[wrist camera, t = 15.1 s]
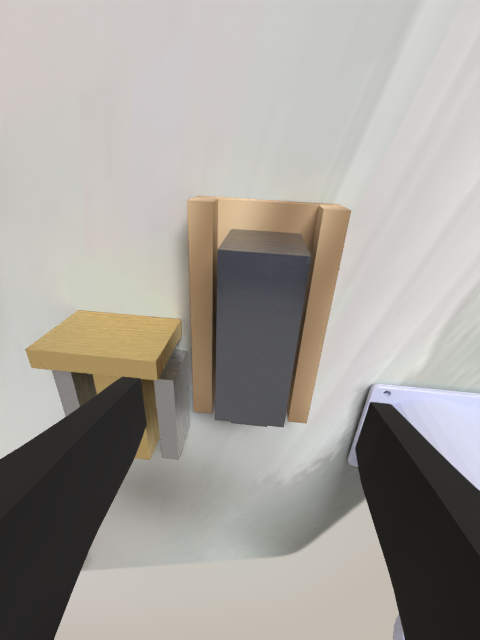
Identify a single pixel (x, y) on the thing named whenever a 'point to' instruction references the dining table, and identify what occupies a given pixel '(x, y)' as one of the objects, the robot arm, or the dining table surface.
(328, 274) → the rack
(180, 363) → the sleeve
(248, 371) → the tall gray pillar
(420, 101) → the dining table surface
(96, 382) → the tan blocky piece
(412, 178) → the dining table surface
